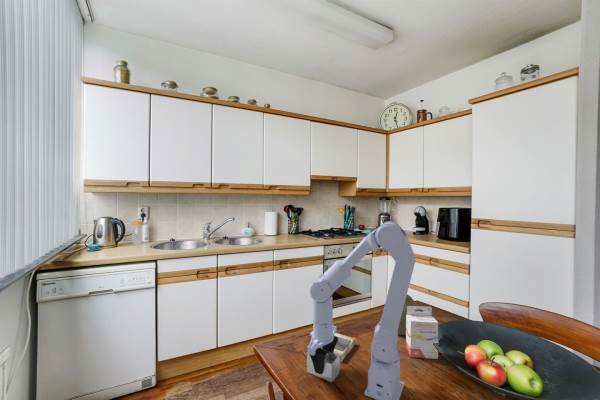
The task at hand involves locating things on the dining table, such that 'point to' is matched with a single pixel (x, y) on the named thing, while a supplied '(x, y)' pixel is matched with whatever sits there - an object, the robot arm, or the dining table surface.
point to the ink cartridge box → (421, 332)
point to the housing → (326, 366)
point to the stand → (343, 345)
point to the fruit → (402, 324)
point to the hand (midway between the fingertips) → (323, 367)
